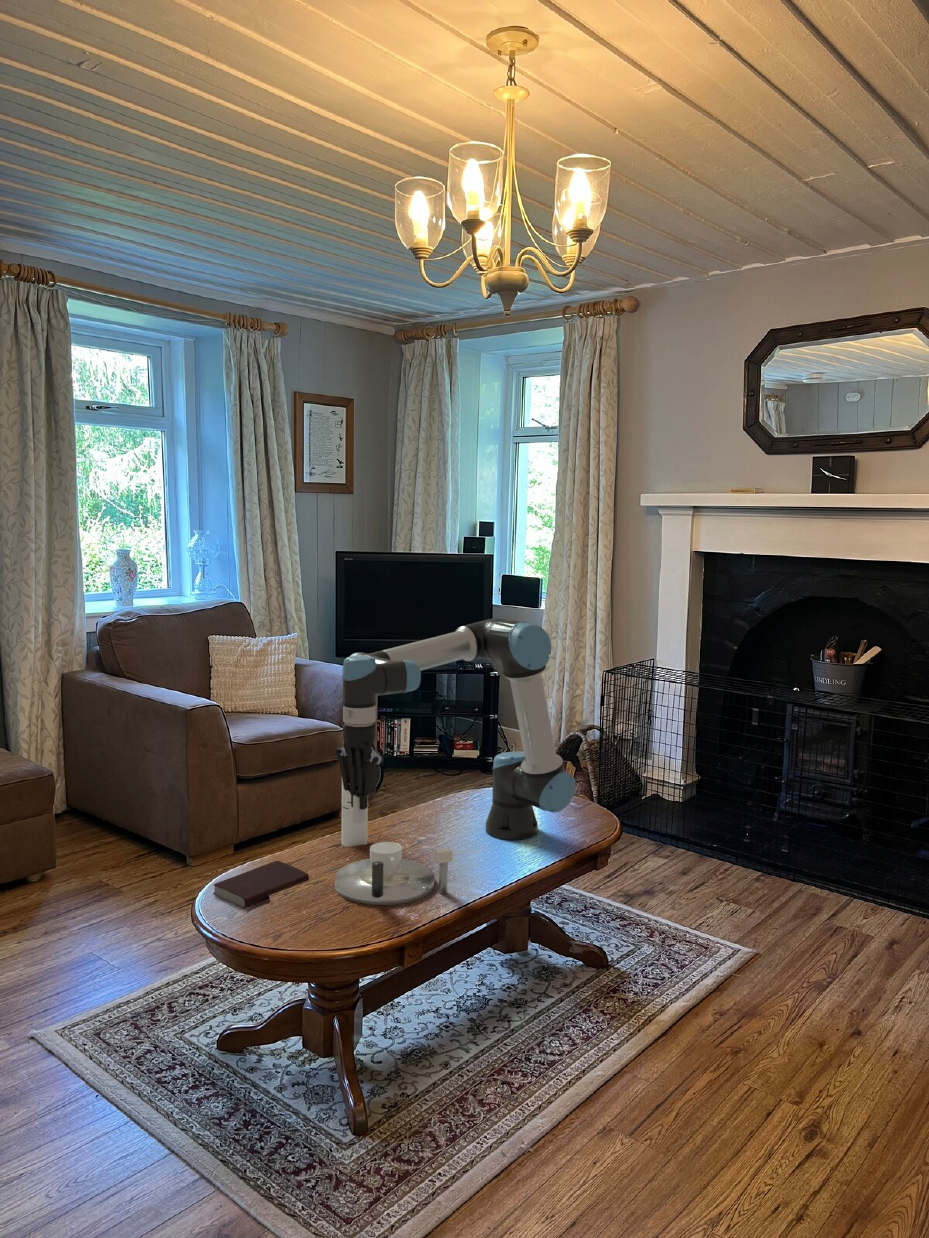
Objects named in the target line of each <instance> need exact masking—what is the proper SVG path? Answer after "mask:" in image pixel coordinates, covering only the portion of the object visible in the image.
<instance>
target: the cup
mask: <svg viewBox="0 0 929 1238" xmlns="http://www.w3.org/2000/svg"><path fill="white" fill-rule="evenodd" d="M402 852H403V847H402V845H401V844H399V843H397V842H393V841H392V842H391V841H380V842H376V843H374V844H372V845H370V847H369V859H370V861H371V865H372V863H373V862H376V861H380V862H383V878H387V877H392V876H393V875H394V874H395V873H396V871H397V869H398V868H399V865H400V862H401V858H402V855H403V853H402Z"/></svg>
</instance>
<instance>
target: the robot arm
mask: <svg viewBox="0 0 929 1238" xmlns="http://www.w3.org/2000/svg"><path fill="white" fill-rule="evenodd" d="M546 631H547V630H545V629H544V628H543V627H541V626H540V625H538V624H535V623H532V622H528V621H520V620H519V621H517V620H512V619H505V618H498V617H497V618H489V619H486V620H481V621H477V622H473V623H469V624H466V625H462V626H459V627H458V628H457V629H456V630H455V631H453V632H449V633H446V634H441V635H438V636H435V637H430V638H426V639H422V640H418V641H413V642H410V643H406V644H403V645H399V646H394V647H391V648H387V649H383V650H378V651H375V652H371V653H366V652H355V653H352V654H351V655H350V656H348V657H346V658H345V659H344V660H343V665H342V677H341V679H342V721H343V725H342V738H343V740H344V741H343V745H342V747H340V748H337V749H335V754H336V756H337V759H338V762H339V768H340V769H339V770H340V774H341V781H342V780H343V786H344V789H345V790H346V791H347V790H348V791H349V792H350V794H351V806H352V807H353V823H357V824H359V823H361V822H363V821H365V809H366V808H367V806H368V807H369V795H371V794H374V793H375V792H376V788H377V787H376V786H377V782H378V777H379V772H380V767H381V764H382V763H383V761H384V758H385V757H384V756H383V755H382V754H380V755H379V754H378V753H377V752H376V747H375V739H376V724H375V722H376V721H377V720H376V719H377V718H376V715H377V713H376V711H377V710H376V703H377V702H376V700H377V696H379V697H380V696H385V695H394V694H401V693H402V694H406V693H408V692H412V691H415V690H417V689H418V688H419V686H420V684H421V677H422V676H421V675H422V673H421V672H422V671H423V670H428V669H430V668H436V667H438V666H442V665H447V664H449V663H453V662H457V661H460V660H461V661H462V660H464V661H465V662H472V661H475V660H487V661H488V660H489V661H494V662H498V663H500V666H501V672H502V675H503V677H504V678H506V679H507V680H509V682H510V686H511V694H512V698H513V704H514V708H515V713H516V718H517V723H518V724H517V725H518V729H519V734H520V740H521V745H522V750H523V751H507V752H502V753H499V754H496V755H495V756H494V759H493V766H492V790H491V791H492V800H491V801H492V802H491V803H492V804H491V806H490V810H489V812H488V815H487V818H486V821H485V833H486V834H488V835H489V836H492V837H494V838H497V839H500V840H501V839H503V840H508V841H509V840H510V841H517V840H519V841H520V840H527V839H531V838H534V837H535V836H537V835H538V832H539V824H538V820H537V817H536V814H535V810H534V807H535V808H538V809H539V810H541V811H544V812H549V813H555V814H556V813H559V812H561V811H563V810H564V809H566V808H567V807H569V806H568V805H570V803H571V802H572V799H573V798H574V796H575V793H576V780H575V777H574V776H573V774H571V773H570V772H569V771H565V766H564V760H563V758H562V756H560V755H559V754H557V753H556V748H555V742H554V736H553V732H552V726H551V721H550V720H551V719H550V715H549V708H548V703H547V698H546V693H545V686H544V679H543V676H542V674H543V673H544V672H545V671H546V669H547V664H548V662H549V660H550V655H551V654H552V641H551V638H550V636H549V634H548V633H547V632H546ZM348 783H349V784H348Z"/></svg>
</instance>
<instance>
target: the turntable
mask: <svg viewBox="0 0 929 1238" xmlns="http://www.w3.org/2000/svg"><path fill="white" fill-rule="evenodd" d="M434 887H435V873H434V871H433V869H431V868H430V867H429V866H427V865H426V864H424V863H421V862H419V861H415V860H412V859H407V858H402V857H401V862H400V865H399V868H398V869H397V871H396V873H395V874H394V875H393V876H392V877H387V878H383V862H380V861H376V862H373V863H372V865H371V861H370V858H366V859H365V858H364V859H360V860H356V861H354V862H351V863H349V864H345V865H344V866H342V867H341V868H339V869H338V870H337V872H336V873H335V876H334V888H335V891H336V892H337V894H339V896H341V897H343V898H344V899H347V900H349V901H351V902H355V903H357V904H364V905H370V906H394V905H395V906H396V905H402V904H406V903H407V904H408V903H411V902H415V901H417V900H420V899H422V898H424V897H426V896H427V895H429V894H430V893H431V892H432V891H433V889H434Z"/></svg>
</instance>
